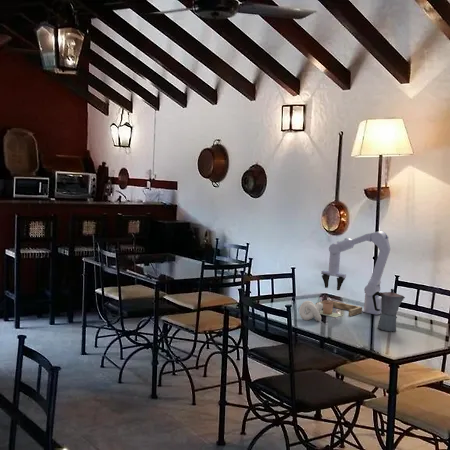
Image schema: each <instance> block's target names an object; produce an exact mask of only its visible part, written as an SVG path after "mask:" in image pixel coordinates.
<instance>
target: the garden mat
mask: <svg viewBox="0 0 450 450" xmlns="http://www.w3.org/2000/svg"><path fill="white" fill-rule="evenodd" d="M320 315H322V316H326V317H330V318H338V317H342V316H343V314H341V313H337V312H332V314H324V313H323V309H322V310H321V311H320Z"/></svg>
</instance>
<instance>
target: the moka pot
mask: <svg viewBox="0 0 450 450" xmlns="http://www.w3.org/2000/svg"><path fill="white" fill-rule="evenodd" d="M376 295H378V296H379V297H380V298H381V308H382V310H381V312H382V313H381V314H380V316H379V320H378V323H377V329H379V330H381V331H385V332H390V333H391V332H392V331H393V332H396V331H397V318H398V317H397V314H398V311H399V308H400V305H401V304H402V302H403V301H404V299H405V298H406V297H405V296H404V295H402V294H399V293H395V289H393V288H391V289H390V291H388V292H387V291H385V292H383V291H382V292H381V291H379V292H376V293H375V294H374V295H373V296H372V298H373V302H374V308H375V310H376V311H380V309H377V306H376V299H375V296H376Z"/></svg>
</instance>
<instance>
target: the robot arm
mask: <svg viewBox="0 0 450 450" xmlns="http://www.w3.org/2000/svg"><path fill="white" fill-rule="evenodd" d="M363 242H372V243H373V244H374V245H375V246H376V247H377V248H378V250H379V252H378V255H377V258H376V262H375V264H374V267H373V270H372V273H371V276H370V279H369V281H368V282H367V283H368V284H367V285H366V286H365V287H364V303H363V305H364V306H363V309H362V313H366V314H372V315H376V316H378V315H381V313H382V312H381V310H382V308H381V296H378V295H376V296H375V299H376V306H377V309H380V311H376V310H375V308H374V302H373V298H372V296H373V295H374V294H375V293H376V292H381V283H382V282H381V279H382V276H383V274H384V270H385V268H386V265H387V261H388V259H389V255H390V251H391V245H390V241H389V236H388V235H387V233H386V232H385V231H383V230H379V231H374V232H369V233H366V234H362V235H360V236H358V237H355V238H353V239H351V238H348V237H345V238H344V239H343V240H341V241H339V240H338V241H336V243H335V242H334V243H332V244H330V245H329V247H328V251H329V260H328V270H320V271H321V272H320V275H321V278H322V280H323V283H324V288H325V289H328V288H329V281H330V277H336V290H337V291H340V290H341V287H342V285H343V282H344V281H345V280H346V278H347V274H345V273H341V272H340V263H341V261H340V260H341V252H345V251H348V250H351V249H353V248H354V246H355V245H358V244H361V243H363Z"/></svg>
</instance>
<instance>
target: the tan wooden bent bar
mask: <svg viewBox="0 0 450 450" xmlns="http://www.w3.org/2000/svg"><path fill="white" fill-rule="evenodd" d="M333 301H334V300H333ZM319 302H320V303H322V304H323V300H322V301H318V302H316V303H315V305H316V304H317V303H319ZM333 308H335V309H341V310H346V311H348V317H353V316H356V315H359V314H362V313H363V312H362V310H363V307H362V306H358V305H354V304H349V303H343V302H338V301H336V300H335V301H334V303H333Z"/></svg>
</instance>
